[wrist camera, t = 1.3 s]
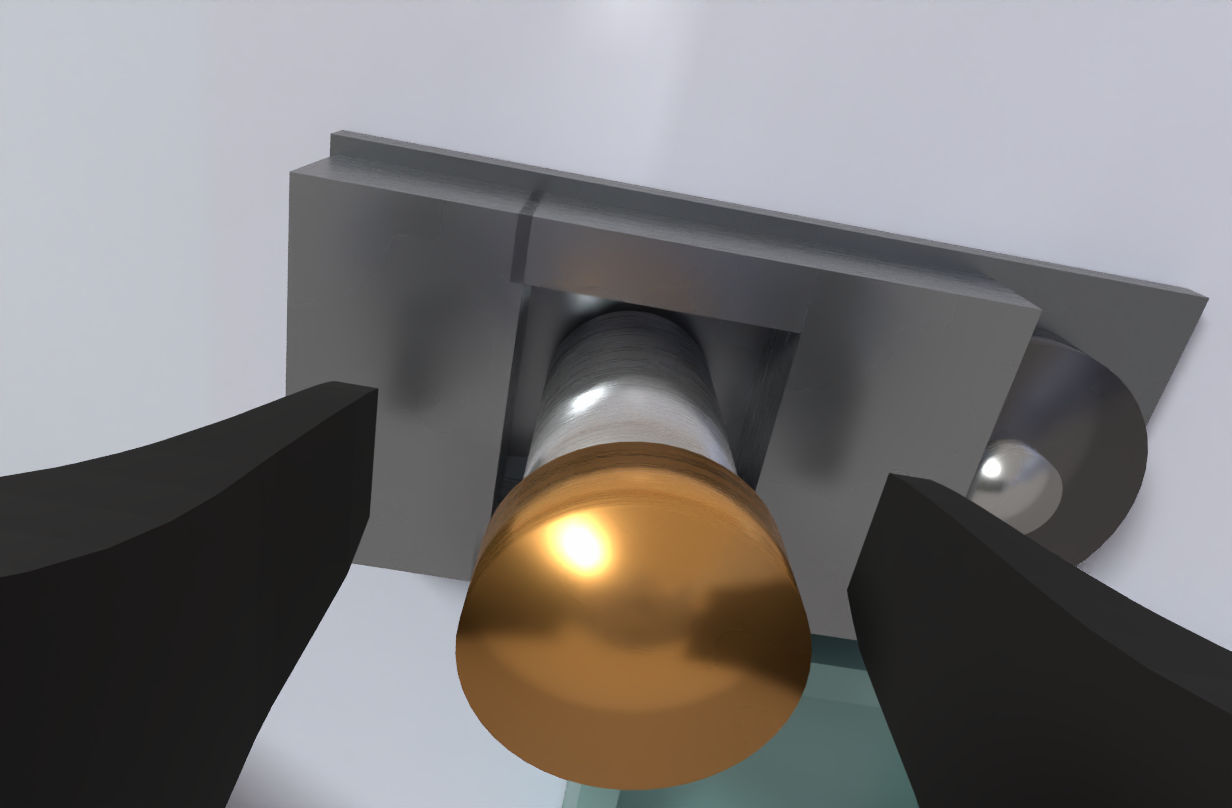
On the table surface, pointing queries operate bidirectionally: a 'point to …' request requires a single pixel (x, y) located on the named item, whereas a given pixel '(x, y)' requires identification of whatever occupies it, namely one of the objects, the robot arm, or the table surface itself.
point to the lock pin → (632, 577)
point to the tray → (798, 753)
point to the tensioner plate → (715, 352)
